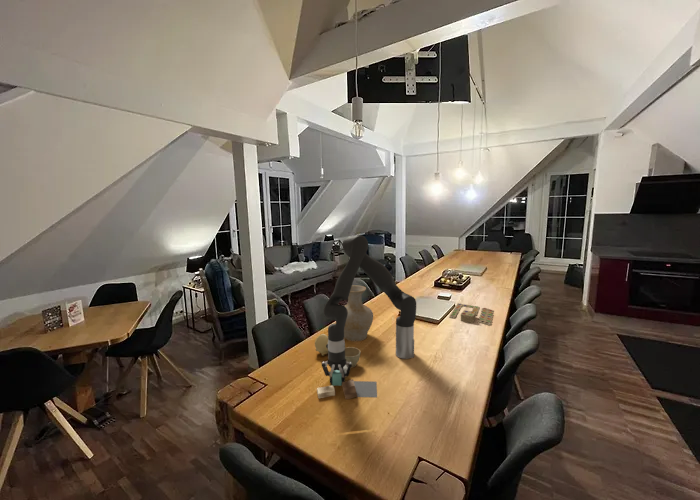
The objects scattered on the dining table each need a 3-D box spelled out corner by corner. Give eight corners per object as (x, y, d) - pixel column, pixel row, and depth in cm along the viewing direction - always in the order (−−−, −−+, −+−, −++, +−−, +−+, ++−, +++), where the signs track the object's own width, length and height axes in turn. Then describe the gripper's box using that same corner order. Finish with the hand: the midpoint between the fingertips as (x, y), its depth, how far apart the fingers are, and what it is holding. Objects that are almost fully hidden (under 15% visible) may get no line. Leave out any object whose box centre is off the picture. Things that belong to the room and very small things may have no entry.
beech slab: (333, 391, 129) (333, 385, 128) (335, 397, 125) (335, 390, 125) (317, 394, 127) (316, 387, 127) (318, 400, 123) (318, 393, 123)
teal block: (342, 381, 136) (342, 369, 135) (341, 386, 132) (341, 374, 131) (333, 381, 136) (333, 369, 135) (332, 386, 132) (332, 374, 131)
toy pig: (327, 361, 153) (326, 341, 152) (311, 353, 161) (310, 335, 159) (340, 353, 161) (339, 335, 159) (324, 346, 168) (324, 329, 167)
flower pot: (363, 361, 152) (362, 348, 151) (357, 372, 143) (356, 358, 142) (344, 358, 155) (344, 345, 154) (337, 368, 146) (337, 355, 145)
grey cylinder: (348, 372, 143) (348, 364, 142) (348, 378, 138) (348, 370, 137) (338, 372, 143) (338, 364, 142) (337, 378, 138) (337, 370, 137)
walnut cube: (355, 389, 128) (353, 379, 127) (357, 396, 123) (354, 385, 122) (344, 392, 127) (341, 382, 127) (345, 400, 122) (342, 389, 122)
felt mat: (376, 382, 134) (376, 381, 134) (377, 398, 123) (377, 397, 123) (352, 382, 135) (352, 381, 135) (350, 398, 124) (350, 396, 124)
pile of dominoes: (491, 327, 192) (491, 319, 191) (447, 319, 205) (448, 312, 204) (495, 310, 222) (495, 303, 221) (457, 304, 235) (457, 297, 234)
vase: (331, 340, 176) (330, 291, 171) (345, 326, 196) (344, 282, 191) (366, 346, 167) (366, 295, 163) (377, 331, 187) (377, 285, 183)
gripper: (353, 344, 134) (353, 379, 137) (321, 343, 135) (322, 378, 138) (352, 352, 127) (352, 389, 129) (319, 351, 128) (320, 388, 130)
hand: (337, 383), depth 134 cm, fingers closed on teal block, 4 cm apart
